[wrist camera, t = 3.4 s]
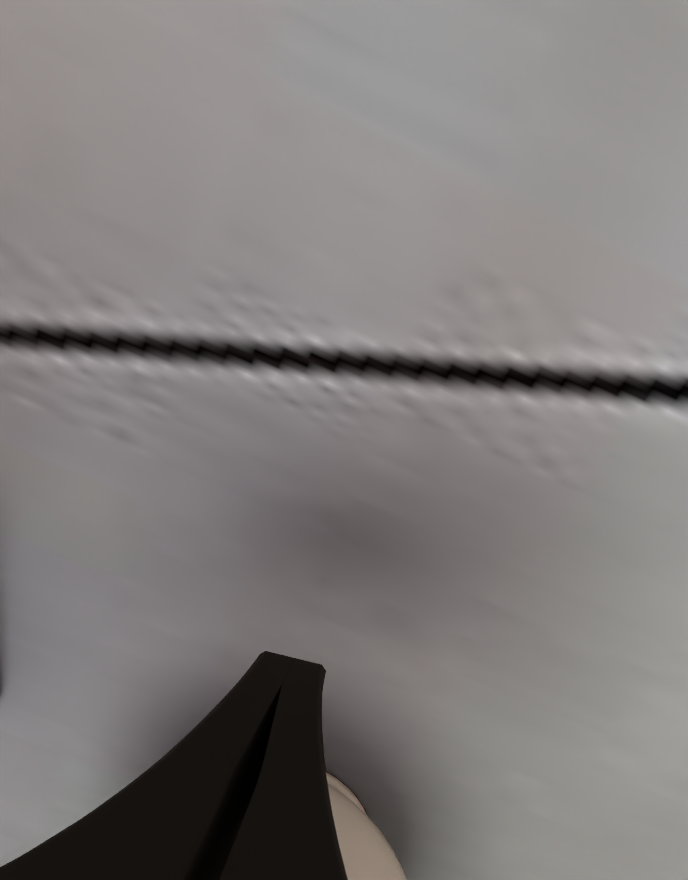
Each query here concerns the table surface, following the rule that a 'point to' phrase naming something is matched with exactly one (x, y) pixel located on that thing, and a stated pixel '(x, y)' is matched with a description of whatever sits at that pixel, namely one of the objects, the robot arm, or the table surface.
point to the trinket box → (360, 838)
